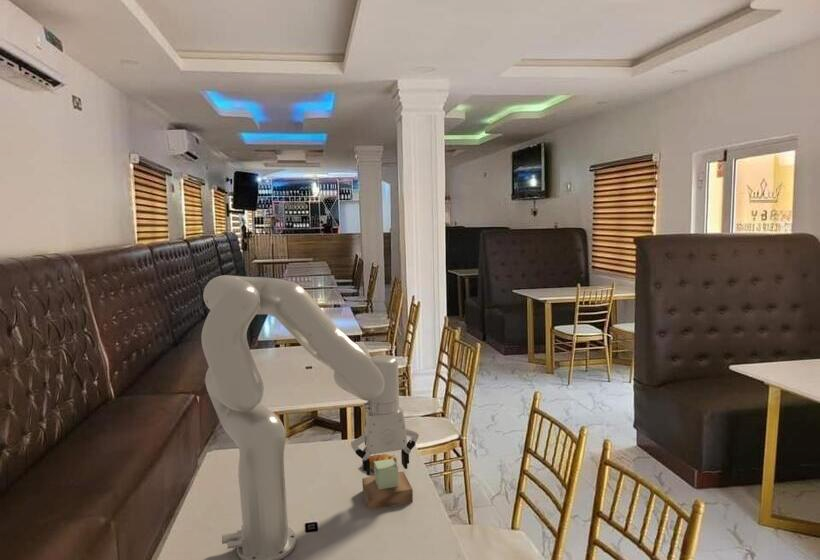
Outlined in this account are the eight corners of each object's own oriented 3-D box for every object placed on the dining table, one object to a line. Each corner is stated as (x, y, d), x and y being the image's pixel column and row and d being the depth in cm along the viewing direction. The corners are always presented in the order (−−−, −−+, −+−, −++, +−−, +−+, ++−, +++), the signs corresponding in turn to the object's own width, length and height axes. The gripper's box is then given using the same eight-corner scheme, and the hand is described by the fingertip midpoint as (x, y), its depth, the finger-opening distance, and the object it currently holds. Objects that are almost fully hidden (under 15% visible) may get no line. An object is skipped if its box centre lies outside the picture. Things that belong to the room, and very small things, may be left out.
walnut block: (369, 511, 132) (368, 496, 131) (362, 492, 141) (362, 478, 140) (412, 503, 135) (412, 488, 134) (403, 485, 143) (403, 471, 143)
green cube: (378, 489, 134) (378, 470, 133) (374, 479, 139) (374, 461, 138) (398, 486, 136) (397, 467, 135) (393, 476, 140) (392, 458, 140)
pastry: (359, 470, 151) (359, 458, 151) (368, 459, 158) (368, 447, 157) (391, 475, 148) (390, 462, 148) (399, 464, 155) (398, 451, 154)
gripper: (352, 415, 128) (355, 482, 131) (421, 406, 133) (423, 471, 135) (346, 404, 135) (349, 468, 138) (413, 395, 140) (414, 457, 142)
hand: (386, 469), depth 137 cm, fingers open, 9 cm apart
